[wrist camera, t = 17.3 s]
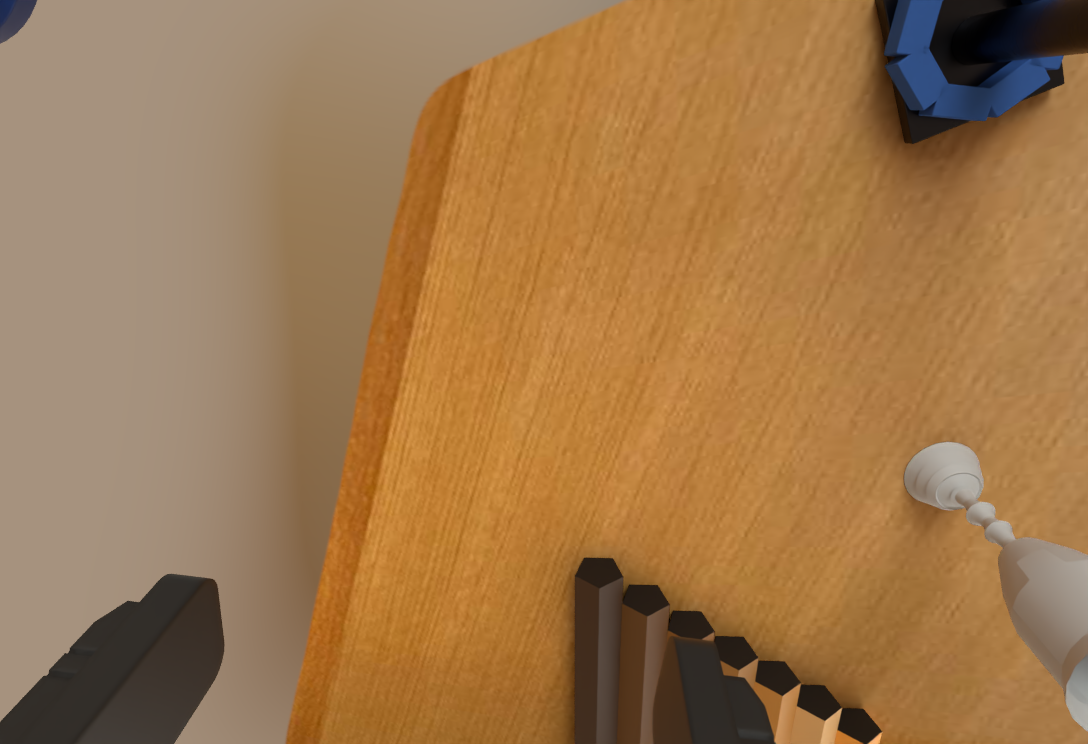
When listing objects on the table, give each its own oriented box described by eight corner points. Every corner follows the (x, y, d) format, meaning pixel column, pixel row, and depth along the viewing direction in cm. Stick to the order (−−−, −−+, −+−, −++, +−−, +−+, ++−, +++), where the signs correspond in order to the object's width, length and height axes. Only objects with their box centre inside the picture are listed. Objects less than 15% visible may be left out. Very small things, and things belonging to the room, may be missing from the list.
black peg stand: (874, -2, 35) (1010, -52, 24) (1033, -73, 33) (1259, -162, 22) (904, 143, 37) (1040, 159, 26) (1052, 84, 36) (1263, 74, 25)
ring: (868, 110, 36) (880, 110, 34) (915, -68, 33) (931, -76, 31) (1019, 125, 36) (1038, 126, 34) (1082, -52, 32) (1106, -60, 31)
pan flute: (575, 557, 50) (574, 777, 59) (574, 588, 47) (574, 814, 56) (907, 565, 48) (851, 789, 58) (929, 596, 45) (866, 828, 55)
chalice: (1011, 483, 45) (1259, 702, 29) (921, 532, 47) (1105, 763, 31) (963, 409, 43) (1198, 598, 27) (871, 463, 45) (1037, 670, 29)
